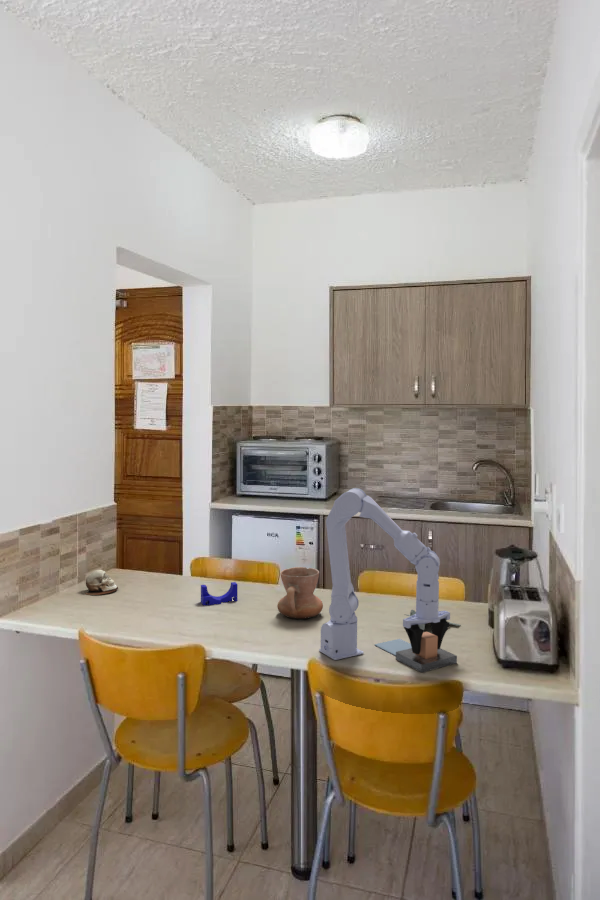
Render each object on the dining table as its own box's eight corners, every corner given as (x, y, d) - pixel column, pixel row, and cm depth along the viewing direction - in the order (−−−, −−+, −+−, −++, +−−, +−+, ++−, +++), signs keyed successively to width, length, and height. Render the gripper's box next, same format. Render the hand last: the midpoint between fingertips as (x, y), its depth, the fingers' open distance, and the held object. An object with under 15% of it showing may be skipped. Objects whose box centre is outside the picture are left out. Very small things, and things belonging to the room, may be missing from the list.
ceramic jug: (289, 605, 219) (289, 563, 218) (330, 609, 213) (330, 567, 212) (266, 622, 202) (266, 576, 201) (310, 627, 197) (309, 581, 195)
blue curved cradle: (203, 606, 217) (203, 588, 217) (200, 602, 221) (200, 584, 221) (238, 602, 221) (238, 585, 221) (235, 599, 226) (235, 582, 225)
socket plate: (421, 672, 163) (421, 664, 163) (395, 659, 171) (395, 651, 171) (456, 663, 169) (456, 655, 169) (430, 651, 178) (430, 643, 177)
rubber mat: (395, 655, 174) (395, 654, 174) (374, 645, 182) (374, 644, 182) (421, 649, 179) (421, 648, 179) (399, 639, 186) (399, 638, 186)
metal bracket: (442, 617, 190) (397, 606, 199) (438, 637, 189) (394, 626, 198) (463, 619, 200) (420, 609, 210) (460, 638, 199) (417, 628, 209)
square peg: (425, 665, 167) (425, 638, 167) (415, 660, 171) (415, 634, 170) (437, 662, 170) (437, 636, 169) (426, 657, 173) (427, 631, 173)
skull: (122, 582, 241) (118, 567, 234) (116, 607, 234) (112, 592, 227) (89, 581, 241) (84, 566, 233) (82, 606, 233) (77, 591, 226)
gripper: (416, 607, 162) (415, 660, 163) (459, 598, 170) (457, 650, 170) (397, 599, 168) (397, 651, 169) (439, 592, 176) (438, 641, 176)
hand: (426, 650), depth 170 cm, fingers open, 6 cm apart
